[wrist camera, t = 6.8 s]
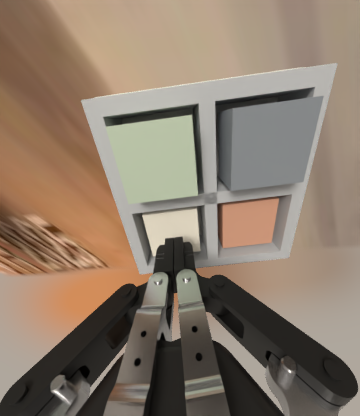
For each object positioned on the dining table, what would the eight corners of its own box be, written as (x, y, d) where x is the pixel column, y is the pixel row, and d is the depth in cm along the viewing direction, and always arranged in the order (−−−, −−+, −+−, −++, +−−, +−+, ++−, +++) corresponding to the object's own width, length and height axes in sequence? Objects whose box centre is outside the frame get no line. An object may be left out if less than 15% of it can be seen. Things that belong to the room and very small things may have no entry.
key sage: (187, 116, 12) (191, 114, 9) (193, 180, 14) (198, 195, 11) (122, 125, 12) (105, 126, 9) (138, 187, 14) (128, 204, 11)
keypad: (295, 70, 13) (354, 44, 9) (269, 232, 21) (294, 262, 16) (99, 99, 14) (64, 87, 9) (143, 247, 21) (134, 279, 17)
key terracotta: (260, 185, 17) (279, 198, 14) (256, 224, 19) (271, 242, 16) (214, 191, 17) (222, 205, 14) (215, 229, 19) (222, 248, 16)
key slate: (285, 102, 12) (324, 95, 9) (275, 169, 14) (303, 182, 11) (218, 112, 12) (232, 108, 9) (219, 176, 14) (231, 191, 11)
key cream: (193, 194, 17) (197, 208, 14) (196, 231, 19) (200, 251, 16) (147, 199, 17) (142, 215, 14) (156, 236, 19) (153, 256, 16)
